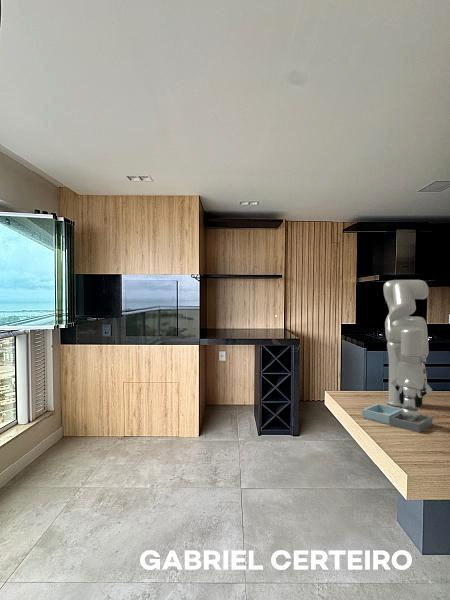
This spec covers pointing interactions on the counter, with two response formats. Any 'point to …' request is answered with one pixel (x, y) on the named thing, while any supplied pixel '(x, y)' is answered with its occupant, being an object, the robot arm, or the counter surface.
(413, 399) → the plastic bottle
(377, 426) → the counter surface
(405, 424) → the bin
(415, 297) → the robot arm
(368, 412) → the bin
